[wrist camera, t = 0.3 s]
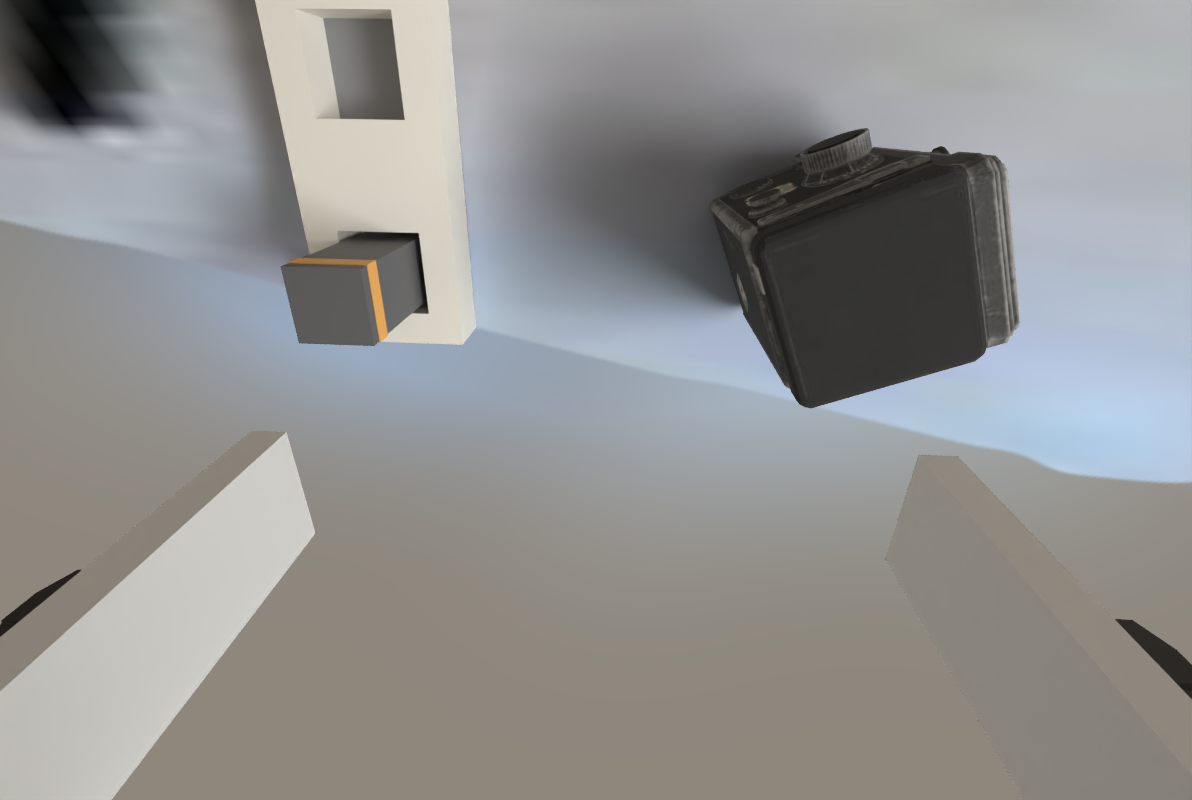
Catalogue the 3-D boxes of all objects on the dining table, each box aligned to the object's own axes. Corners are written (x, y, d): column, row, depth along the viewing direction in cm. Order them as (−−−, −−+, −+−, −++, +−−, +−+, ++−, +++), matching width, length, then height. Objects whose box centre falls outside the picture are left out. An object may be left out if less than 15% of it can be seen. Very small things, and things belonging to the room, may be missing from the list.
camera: (906, 270, 36) (1071, 359, 22) (745, 327, 38) (807, 439, 25) (876, 101, 32) (1057, 85, 18) (698, 176, 34) (742, 211, 20)
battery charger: (284, -25, 30) (132, -89, 21) (445, -24, 30) (362, -89, 21) (351, 323, 39) (264, 384, 30) (476, 327, 39) (427, 391, 30)
